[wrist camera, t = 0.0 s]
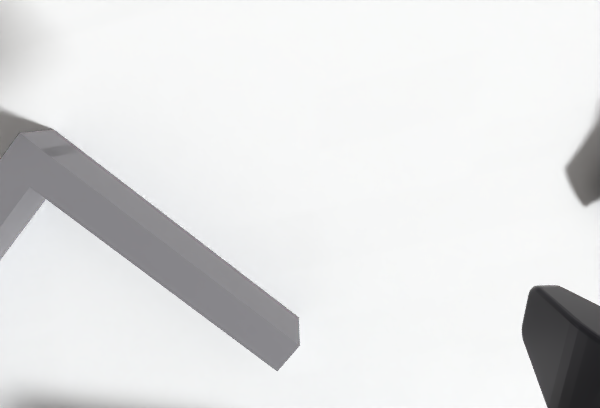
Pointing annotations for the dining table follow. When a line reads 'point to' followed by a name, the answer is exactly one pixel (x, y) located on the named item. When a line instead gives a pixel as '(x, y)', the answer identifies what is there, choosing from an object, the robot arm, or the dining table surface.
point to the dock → (140, 240)
